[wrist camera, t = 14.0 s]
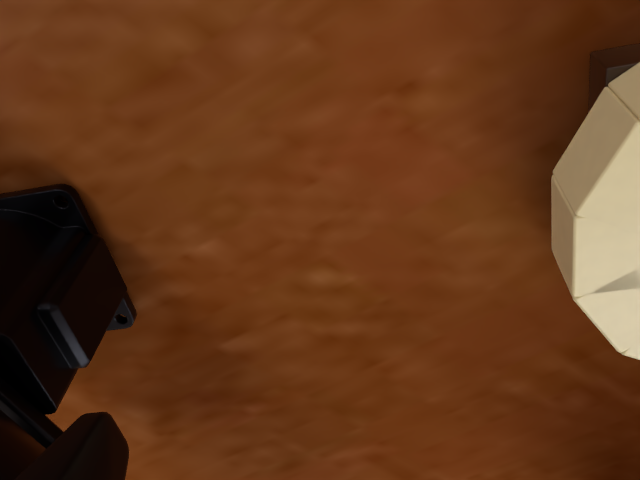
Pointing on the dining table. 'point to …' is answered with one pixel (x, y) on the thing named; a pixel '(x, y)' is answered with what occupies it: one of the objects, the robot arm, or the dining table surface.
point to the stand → (610, 67)
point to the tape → (603, 214)
